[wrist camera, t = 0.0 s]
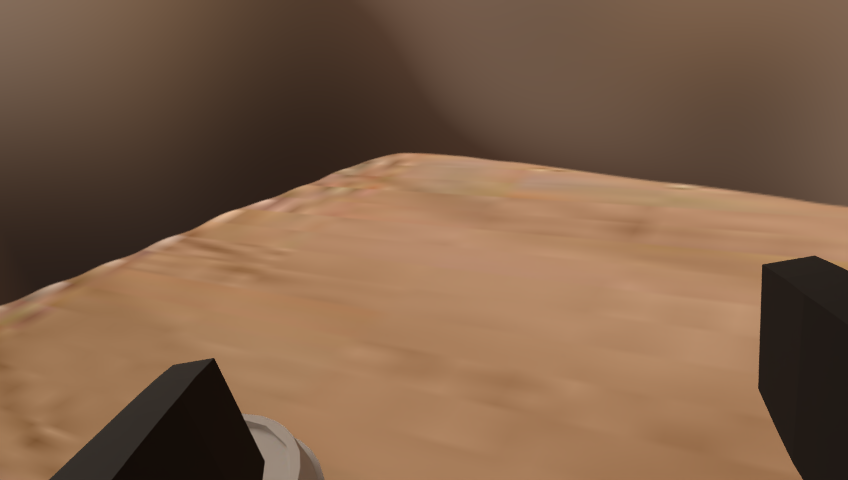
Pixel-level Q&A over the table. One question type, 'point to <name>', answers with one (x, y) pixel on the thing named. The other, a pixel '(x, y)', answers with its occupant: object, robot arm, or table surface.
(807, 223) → the table surface
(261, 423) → the disposable coffee cup
